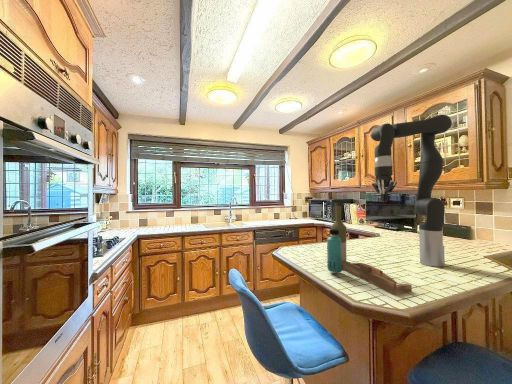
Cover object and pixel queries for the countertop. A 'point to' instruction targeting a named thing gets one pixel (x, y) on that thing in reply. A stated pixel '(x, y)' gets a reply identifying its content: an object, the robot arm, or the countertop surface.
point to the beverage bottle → (334, 252)
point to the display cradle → (376, 278)
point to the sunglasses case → (379, 272)
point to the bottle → (340, 231)
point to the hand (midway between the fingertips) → (384, 201)
